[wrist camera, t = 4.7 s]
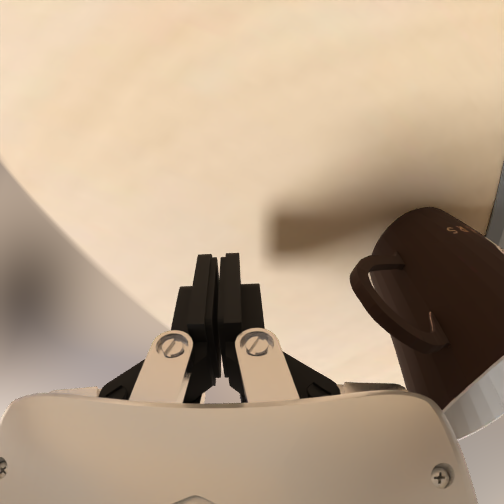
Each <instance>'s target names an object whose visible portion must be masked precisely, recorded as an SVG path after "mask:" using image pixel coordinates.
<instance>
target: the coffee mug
mask: <svg viewBox="0 0 504 504" xmlns="http://www.w3.org/2000/svg"><path fill="white" fill-rule="evenodd" d="M369 272H370V275H371V280H372V283H373V285H374V288H375V289H374V288H373V286H372V284H371V282H370V280H369V277H368V273H369ZM350 283H351V286H352V289H353V291H354V293H355V294H356V296H357V297H358V299H359V300H360V302H361V303H362V305H363V306H364V308H365V309H366V311H367V312H368V313H369V314H370V316H371V317H372V318H373V319H374V320H375V321H376V322H377V323H378V324H379V325H380V326H381V327H382V328H384V329H385V330H386V331H387V332H388V333H389V334H390V335H391V338H392V341H393V344H394V347H395V350H396V354H397V357H398V360H399V364H400V367H401V371H402V374H403V378H404V381H405V385H406V389H407V391H408V392H413V393H417V394H421V395H424V396H426V397H428V398H430V399H432V400H433V401H434V402H435V403H436V404H437V405H438V406H439V407H440V408H441V410H442V411H443V413H444V414H445V416H446V418H447V419H448V421H449V423H450V425H451V427H452V429H453V431H454V433H455V436H456V438H457V440H461V439H463V438H465V437H467V436H469V435H471V434H473V433H475V432H477V431H479V430H480V429H482V428H484V427H486V426H487V425H489V424H491V423H492V422H494V421H495V420H497V419H498V418H500V417H501V416H502V415H504V249H502V248H501V247H499V246H498V245H496V244H495V243H494V242H492V241H491V240H489V239H488V238H486V237H485V236H483V235H482V234H480V233H478V232H477V231H475V230H474V229H472V228H471V227H469V226H467V225H466V224H464V223H463V222H461V221H459V220H458V219H456V218H454V217H453V216H451V215H449V214H448V213H446V212H444V211H443V210H441V209H437V208H434V207H424V208H419V209H415V210H413V211H410V212H408V213H406V214H404V215H403V216H401V217H400V218H398V219H397V220H396V221H394V222H393V223H392V224H391V225H390V226H389V227H388V228H387V229H386V231H385V232H384V233H383V234H382V235H381V237H380V239H379V240H378V242H377V244H376V246H375V248H374V251H373V253H372V255H371V256H368V257H365V258H363V259H361V260H360V261H359V263H358V264H357V265H356V267H355V268H354V269H353V271H352V272H351V274H350Z"/></svg>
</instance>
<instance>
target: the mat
mask: <svg viewBox="0 0 504 504" xmlns="http://www.w3.org/2000/svg"><path fill="white" fill-rule="evenodd" d="M485 237H486V238H488V239H489V240H491V241H492V242H494V243H495V244H496V245H498V246H499V247H501V248H502V249H504V163H503V168H502V173H501V178H500V183H499V187H498V191H497V195H496V200H495V203H494V207H493V211H492V215H491V218H490V222H489V225H488V229H487V232H486V235H485Z"/></svg>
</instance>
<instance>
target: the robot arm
mask: <svg viewBox="0 0 504 504" xmlns="http://www.w3.org/2000/svg"><path fill="white" fill-rule="evenodd" d="M221 355H222V362H223V368H224V375H225V377H229V384H230V386H231V387H232V388H233V389H235V390H236V391H238V392H239V393H240V399H241V403H229V404H228V403H223V404H204V401H205V391H207V390H208V389H209V388H210V387H212V386H215V383H216V378H220V377H221ZM0 504H478V502H477V498H476V494H475V490H474V487H473V484H472V480H471V477H470V474H469V471H468V468H467V464H466V462H465V458H464V456H463V453H462V450H461V448H460V445H459V443H458V440H457V438H456V436H455V433H454V431H453V429H452V427H451V425H450V423H449V421H448V419H447V418H446V416H445V414H444V413H443V411H442V410H441V408H440V407H439V406H438V405H437V404H436V403H435V402H434V401H433V400H432V399H430V398H428V397H426V396H424V395H421V394H417V393H413V392H408V391H407V390H406V389H405V387H403V386H401V385H399V384H387V383H353V382H345V383H344V385H339V384H336V383H335V382H333V381H332V380H331V379H329V378H327V377H325V376H324V375H322V374H320V373H318V372H317V371H315V370H313V369H312V368H310V367H308V366H306V365H305V364H303V363H301V362H300V361H298V360H296V359H295V358H293V357H291V356H290V355H288V354H286V353H285V352H283V351H282V349H281V346H280V343H279V340H278V338H277V337H276V335H275V334H274V333H272V332H271V331H269V330H267V329H265V328H264V319H263V310H262V302H261V293H260V285H259V284H241V280H240V260H239V253H226V257H221V261H220V278H219V273H218V263H217V257H214V258H212V254H202V255H198V257H197V263H196V269H195V275H194V281H193V286H184V287H180V289H179V293H178V298H177V302H176V307H175V312H174V317H173V322H172V327H171V331H167V332H164V333H162V334H160V335H159V336H157V337H156V338H155V340H154V341H153V343H152V345H151V348H150V350H149V352H148V354H147V357H146V359H144V360H143V361H141V362H140V363H138V364H137V365H135V366H134V367H132V368H131V369H129V370H128V371H126V372H124V373H123V374H121V375H120V376H118V377H117V378H115V379H113V380H112V381H110V382H109V383H107V384H106V385H105V386H104V387H103V388H102V389H98V388H97V386H96V387H86V388H75V389H61V390H54V391H51V392H49V393H36V394H31V395H26V396H23V397H20V398H18V399H15V400H14V401H13V402H11V404H10V405H9V406H8V407H7V408H6V410H5V411H4V413H3V415H2V417H1V419H0Z"/></svg>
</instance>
